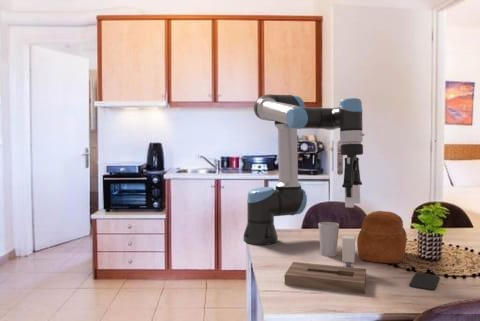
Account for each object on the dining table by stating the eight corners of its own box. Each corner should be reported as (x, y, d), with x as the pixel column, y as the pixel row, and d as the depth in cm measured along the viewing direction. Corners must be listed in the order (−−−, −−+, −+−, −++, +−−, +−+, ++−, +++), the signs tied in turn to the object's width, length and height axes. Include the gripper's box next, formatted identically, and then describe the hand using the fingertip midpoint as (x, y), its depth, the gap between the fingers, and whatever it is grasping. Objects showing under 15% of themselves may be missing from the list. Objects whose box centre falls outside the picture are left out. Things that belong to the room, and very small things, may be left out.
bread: (406, 251, 172) (407, 210, 171) (405, 266, 152) (406, 220, 151) (361, 247, 178) (362, 207, 177) (354, 261, 159) (355, 216, 158)
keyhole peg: (342, 268, 149) (343, 235, 148) (354, 269, 148) (355, 236, 147) (341, 272, 145) (342, 238, 145) (353, 273, 144) (354, 239, 143)
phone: (440, 275, 141) (434, 289, 128) (440, 278, 141) (434, 292, 128) (416, 272, 145) (408, 284, 132) (416, 274, 145) (408, 287, 132)
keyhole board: (293, 270, 147) (293, 261, 146) (365, 278, 139) (366, 268, 139) (284, 284, 133) (284, 274, 133) (364, 293, 126) (364, 282, 126)
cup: (338, 257, 163) (339, 226, 162) (317, 256, 164) (318, 225, 164) (338, 252, 171) (338, 222, 170) (318, 250, 172) (318, 221, 171)
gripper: (356, 141, 134) (358, 209, 134) (367, 144, 157) (369, 202, 157) (333, 142, 137) (334, 208, 137) (347, 145, 160) (348, 201, 160)
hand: (353, 205), depth 147 cm, fingers open, 13 cm apart
